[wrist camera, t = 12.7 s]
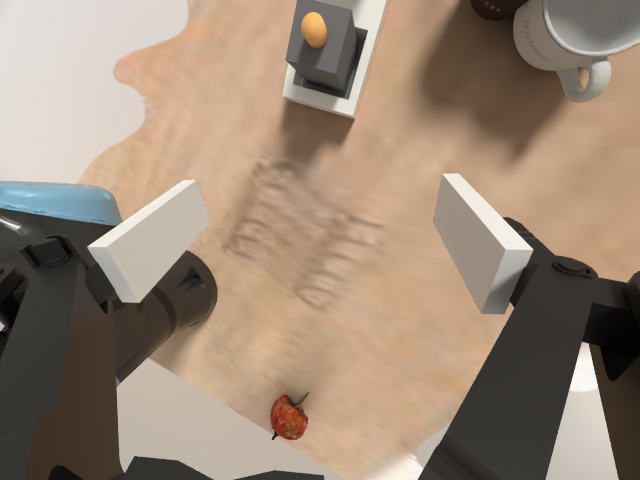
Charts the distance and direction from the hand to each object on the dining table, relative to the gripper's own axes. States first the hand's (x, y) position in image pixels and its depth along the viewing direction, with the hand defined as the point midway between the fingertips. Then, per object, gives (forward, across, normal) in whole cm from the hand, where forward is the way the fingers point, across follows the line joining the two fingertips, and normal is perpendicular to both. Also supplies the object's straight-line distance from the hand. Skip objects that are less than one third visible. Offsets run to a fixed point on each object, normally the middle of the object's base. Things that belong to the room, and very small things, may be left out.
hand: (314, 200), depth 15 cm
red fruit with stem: (+14, -9, -50) cm, 52 cm away
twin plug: (+27, 0, +6) cm, 27 cm away
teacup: (+26, +24, +7) cm, 36 cm away
